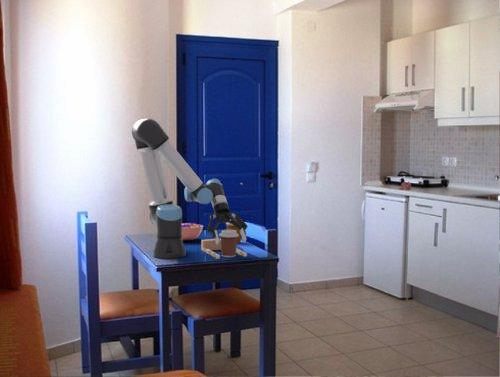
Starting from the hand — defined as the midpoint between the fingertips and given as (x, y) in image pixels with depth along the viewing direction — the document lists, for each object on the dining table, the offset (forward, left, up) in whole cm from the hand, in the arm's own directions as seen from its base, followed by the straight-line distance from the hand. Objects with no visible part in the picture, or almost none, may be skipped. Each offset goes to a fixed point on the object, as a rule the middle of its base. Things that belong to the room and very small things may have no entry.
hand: (231, 242), depth 278 cm
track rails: (+1, +5, -6) cm, 8 cm away
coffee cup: (-2, 0, -6) cm, 7 cm away
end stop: (+7, +15, -6) cm, 18 cm away
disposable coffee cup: (+26, +20, -7) cm, 34 cm away
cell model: (+15, +45, -7) cm, 48 cm away
